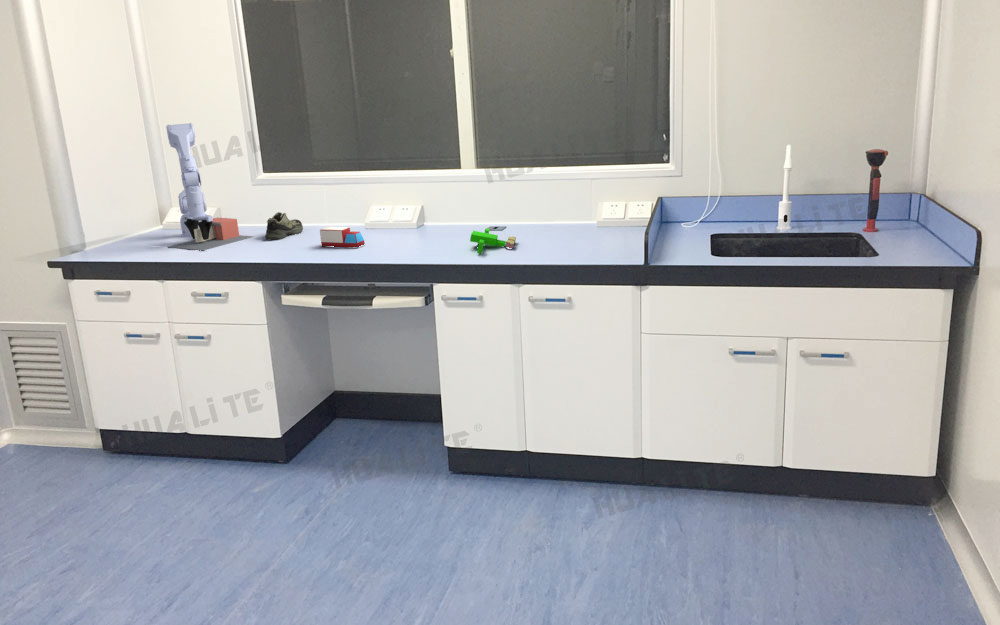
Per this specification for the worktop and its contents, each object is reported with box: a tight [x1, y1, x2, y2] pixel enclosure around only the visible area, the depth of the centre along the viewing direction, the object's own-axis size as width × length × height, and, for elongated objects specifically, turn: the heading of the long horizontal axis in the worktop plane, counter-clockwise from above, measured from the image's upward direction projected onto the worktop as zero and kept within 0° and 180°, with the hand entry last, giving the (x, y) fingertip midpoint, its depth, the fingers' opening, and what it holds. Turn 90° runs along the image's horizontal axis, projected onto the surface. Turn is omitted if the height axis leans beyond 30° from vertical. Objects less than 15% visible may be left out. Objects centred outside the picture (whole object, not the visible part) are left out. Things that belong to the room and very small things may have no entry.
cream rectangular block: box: [194, 225, 216, 242], centre depth 316 cm, size 2×11×5 cm, turn 150°
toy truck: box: [319, 226, 366, 247], centre depth 295 cm, size 6×15×7 cm, turn 69°
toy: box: [469, 228, 517, 254], centre depth 282 cm, size 22×5×15 cm
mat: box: [167, 234, 255, 252], centre depth 315 cm, size 20×25×1 cm
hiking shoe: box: [264, 211, 304, 241], centre depth 321 cm, size 8×21×9 cm, turn 164°
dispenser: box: [201, 216, 240, 240], centre depth 321 cm, size 11×9×7 cm
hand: (200, 239), depth 314 cm, fingers open, 5 cm apart
